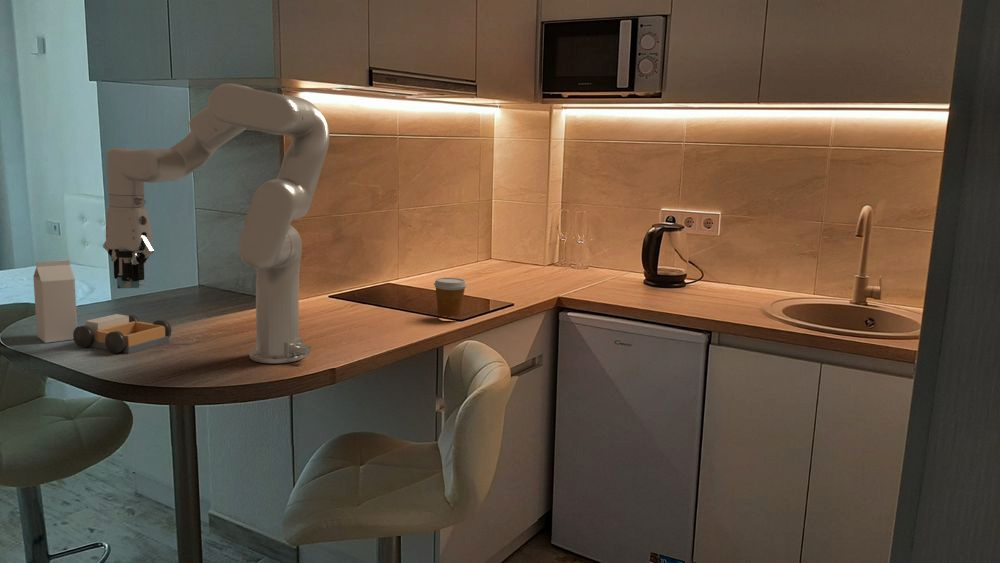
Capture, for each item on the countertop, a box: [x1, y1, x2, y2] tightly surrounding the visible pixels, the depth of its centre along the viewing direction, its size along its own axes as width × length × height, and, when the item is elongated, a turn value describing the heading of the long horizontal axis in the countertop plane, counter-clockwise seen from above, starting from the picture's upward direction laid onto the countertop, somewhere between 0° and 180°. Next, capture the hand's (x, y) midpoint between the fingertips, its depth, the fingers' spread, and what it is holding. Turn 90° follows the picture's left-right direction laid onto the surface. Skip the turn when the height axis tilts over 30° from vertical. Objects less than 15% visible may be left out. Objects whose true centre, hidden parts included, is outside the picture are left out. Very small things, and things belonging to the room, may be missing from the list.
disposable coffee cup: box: [433, 277, 467, 317], centre depth 222 cm, size 10×10×12 cm
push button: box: [114, 246, 148, 289], centre depth 177 cm, size 7×5×10 cm
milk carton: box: [32, 259, 78, 344], centre depth 181 cm, size 7×7×19 cm
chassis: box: [73, 313, 172, 354], centre depth 181 cm, size 16×15×6 cm
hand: (129, 278), depth 178 cm, fingers closed on push button, 4 cm apart
